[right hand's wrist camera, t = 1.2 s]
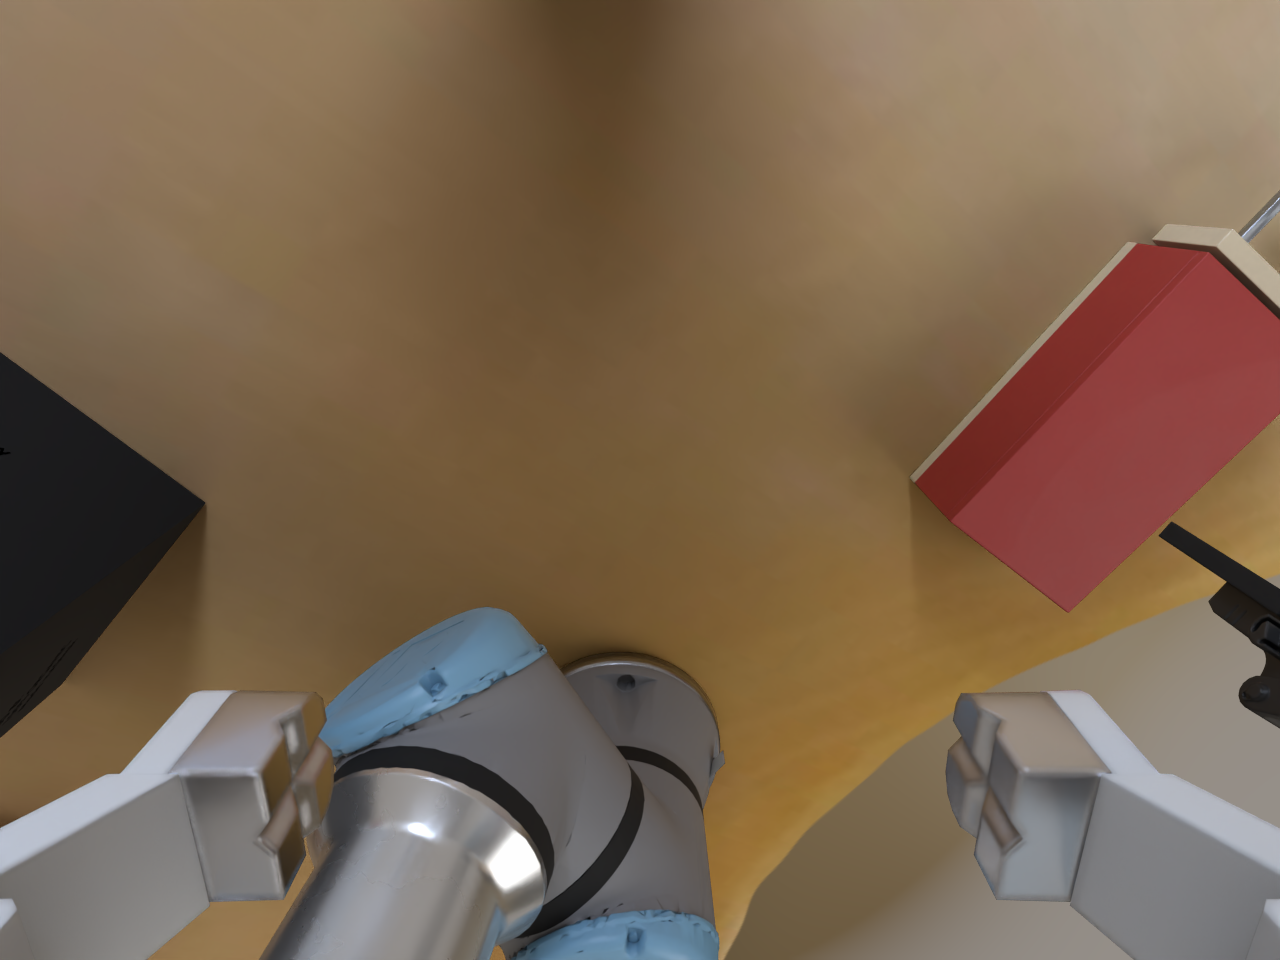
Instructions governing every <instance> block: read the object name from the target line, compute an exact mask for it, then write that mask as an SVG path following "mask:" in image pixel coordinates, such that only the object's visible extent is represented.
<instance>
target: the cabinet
mask: <svg viewBox="0 0 1280 960" xmlns="http://www.w3.org/2000/svg"><path fill="white" fill-rule="evenodd" d="M1279 414H1280V320H1279V319H1278V318H1277V317H1276V316H1275V315H1274V314H1273V313H1272V312H1271V311H1270V310H1269V309H1268V308H1267V307H1266V306H1265V305H1264V304H1263V303H1262V302H1260V301H1259V300H1258V299H1257V298H1256V297H1255V296H1254V295H1253V294H1252V293H1251V292H1250V291H1249V290H1248V289H1247V288H1246V287H1245V286H1244V285H1243V284H1242V283H1241V282H1240V281H1239V280H1238V279H1237V278H1235V277H1234V276H1233V275H1232V274H1231V273H1230V272H1229V271H1228V270H1227V269H1226V268H1225V267H1224V266H1223V265H1222V264H1221V263H1220V262H1219V261H1218V260H1217V259H1216V258H1215V257H1214V256H1213V255H1212V254H1210V253H1209V252H1202V251H1195V250H1186V249H1178V248H1170V247H1162V246H1153V245H1145V244H1138V243H1134V242H1127V243H1126V244H1125V245H1124V246H1123V247H1122V248H1121V249H1120V250H1119V252H1118V253H1117V254H1116V255H1115V256H1114V257H1113V258H1112V259H1111V260H1110V261H1109V262H1108V263H1107V264H1106V266H1105V267H1104V268H1103V269H1102V270H1101V271H1100V272H1099V273H1098V274H1097V275H1096V276H1095V277H1094V279H1093V280H1092V281H1091V282H1090V283H1089V284H1088V285H1087V286H1086V287H1085V288H1084V289H1083V290H1082V291H1081V293H1080V294H1079V295H1078V296H1077V297H1076V298H1075V299H1074V300H1073V301H1072V302H1071V303H1070V304H1069V306H1068V307H1067V308H1066V309H1065V310H1064V311H1063V312H1062V313H1061V314H1060V315H1059V316H1058V317H1057V318H1056V320H1055V321H1054V322H1053V323H1052V324H1051V325H1050V326H1049V327H1048V328H1047V329H1046V330H1045V331H1044V333H1043V334H1042V335H1041V336H1040V337H1039V338H1038V339H1037V340H1036V341H1035V342H1034V343H1033V344H1032V345H1031V347H1030V348H1029V349H1028V350H1027V351H1026V352H1025V353H1024V354H1023V355H1022V356H1021V357H1020V358H1019V359H1018V361H1017V362H1016V363H1015V364H1014V365H1013V366H1012V367H1011V368H1010V369H1009V370H1008V371H1007V372H1006V374H1005V375H1004V376H1003V377H1002V378H1001V379H1000V380H999V381H998V382H997V383H996V384H995V385H994V386H993V388H992V389H991V390H990V391H989V392H988V393H987V394H986V395H985V396H984V397H983V398H982V399H981V401H980V402H979V403H978V404H977V405H976V406H975V407H974V408H973V409H972V410H971V411H970V412H969V413H968V415H967V416H966V417H965V418H964V419H963V420H962V421H961V422H960V423H959V424H958V425H957V426H956V428H955V429H954V430H953V431H952V432H951V433H950V434H949V435H948V436H947V437H946V438H945V439H944V440H943V442H942V443H941V444H940V445H939V446H938V447H937V448H936V449H935V450H934V451H933V452H932V453H931V454H930V456H929V457H928V458H927V459H926V460H925V461H924V462H923V463H922V464H921V465H920V466H919V467H918V469H917V470H916V471H915V472H914V473H913V474H912V475H911V476H910V477H909V478H910V479H911V480H912V481H913V482H914V483H915V484H916V485H917V486H918V487H919V488H920V489H921V490H922V492H923V493H924V494H925V495H926V496H927V497H928V498H929V499H930V500H931V501H932V502H933V503H934V505H935V506H936V507H937V508H938V509H939V510H940V511H941V512H942V513H943V514H944V515H945V517H946V518H947V519H948V520H949V521H950V522H951V523H953V524H954V525H955V526H956V527H958V528H959V529H960V530H962V531H963V532H964V533H965V534H967V535H968V536H969V537H971V538H972V539H973V540H975V541H976V542H977V543H978V544H980V545H981V546H982V547H984V548H985V549H986V550H987V551H989V552H990V553H991V554H993V555H994V556H995V557H996V558H998V559H999V560H1000V561H1002V562H1003V563H1004V564H1005V565H1007V566H1008V567H1009V568H1011V569H1012V570H1013V571H1014V572H1016V573H1017V574H1018V575H1020V576H1021V577H1022V578H1023V579H1025V580H1026V581H1027V582H1029V583H1030V584H1031V585H1032V586H1034V587H1035V588H1036V589H1038V590H1039V591H1040V592H1042V593H1043V594H1044V595H1045V596H1047V597H1048V598H1049V599H1051V600H1052V601H1053V602H1054V603H1056V604H1057V605H1058V606H1060V607H1061V608H1062V609H1063V610H1065V611H1066V612H1070V611H1071V610H1072V609H1073V608H1074V607H1075V606H1076V605H1077V604H1078V603H1079V602H1080V601H1081V600H1083V599H1084V598H1085V597H1086V596H1087V595H1088V594H1089V593H1090V592H1091V591H1092V590H1093V589H1094V588H1095V587H1096V586H1097V585H1098V584H1099V583H1101V582H1102V581H1103V580H1104V579H1105V578H1106V577H1107V576H1108V575H1109V574H1110V573H1111V572H1112V571H1113V570H1114V569H1115V568H1116V567H1118V566H1119V565H1120V564H1121V563H1122V562H1123V561H1124V560H1125V559H1126V558H1127V557H1128V556H1129V555H1130V554H1131V553H1132V552H1133V551H1135V550H1136V549H1137V548H1138V547H1139V546H1140V545H1141V544H1142V543H1143V542H1144V541H1145V540H1146V539H1147V538H1148V537H1149V536H1150V535H1151V534H1153V533H1154V532H1155V531H1156V530H1157V529H1158V528H1159V527H1160V526H1161V525H1162V524H1163V523H1164V522H1165V521H1166V520H1167V519H1168V518H1170V517H1171V516H1172V515H1173V514H1174V513H1175V512H1176V511H1177V510H1178V509H1179V508H1180V507H1181V506H1182V505H1183V504H1184V503H1185V502H1187V501H1188V500H1189V499H1190V498H1191V497H1192V496H1193V495H1194V494H1195V493H1196V492H1197V491H1198V490H1199V489H1200V488H1201V487H1202V486H1204V485H1205V484H1206V483H1207V482H1208V481H1209V480H1210V479H1211V478H1212V477H1213V476H1214V475H1215V474H1216V473H1217V472H1218V471H1219V470H1220V469H1222V468H1223V467H1224V466H1225V465H1226V464H1227V463H1228V462H1229V461H1230V460H1231V459H1232V458H1233V457H1234V456H1235V455H1236V454H1237V453H1239V452H1240V451H1241V450H1242V449H1243V448H1244V447H1245V446H1246V445H1247V444H1248V443H1249V442H1250V441H1251V440H1252V439H1253V438H1254V437H1256V436H1257V435H1258V434H1259V433H1260V432H1261V431H1262V430H1263V429H1264V428H1265V427H1266V426H1267V425H1268V424H1269V423H1270V422H1271V421H1272V420H1274V419H1275V418H1276V417H1277V416H1278V415H1279Z"/></svg>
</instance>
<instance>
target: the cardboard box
mask: <svg viewBox="0 0 1280 960" xmlns="http://www.w3.org/2000/svg"><path fill="white" fill-rule="evenodd" d="M204 504H205V502H203V501H202V500H201V499H199V498H198V497H197V496H195V495H194V494H193V493H191V492H190V491H188V490H187V489H186V488H184V487H183V486H182V485H180V484H179V483H178V482H176V481H175V480H173V479H172V478H171V477H169V476H168V475H167V474H165V473H164V472H163V471H161V470H160V469H158V468H157V467H156V466H154V465H153V464H152V463H150V462H149V461H148V460H146V459H145V458H143V457H142V456H141V455H139V454H138V453H137V452H135V451H134V450H133V449H131V448H130V447H128V446H127V445H126V444H124V443H123V442H122V441H120V440H119V439H118V438H116V437H115V436H113V435H112V434H111V433H109V432H108V431H107V430H105V429H104V428H103V427H101V426H100V425H98V424H97V423H96V422H94V421H93V420H92V419H90V418H89V417H88V416H86V415H85V414H83V413H82V412H81V411H79V410H78V409H77V408H75V407H74V406H73V405H71V404H70V403H68V402H67V401H66V400H64V399H63V398H62V397H60V396H59V395H58V394H56V393H55V392H53V391H52V390H51V389H49V388H48V387H47V386H45V385H44V384H43V383H41V382H40V381H38V380H37V379H36V378H34V377H33V376H32V375H30V374H29V373H28V372H26V371H25V370H23V369H22V368H21V367H19V366H18V365H17V364H15V363H14V362H13V361H11V360H10V359H8V358H7V357H6V356H4V355H3V354H2V353H0V737H2V736H3V735H4V734H5V733H6V732H7V731H8V730H10V729H11V728H12V727H13V726H14V725H15V724H17V723H18V722H19V721H20V720H21V719H22V718H23V717H25V716H26V715H27V714H28V713H29V712H30V711H32V710H33V709H34V708H35V707H36V706H37V705H38V704H40V703H41V702H42V701H43V700H44V699H45V698H47V697H48V696H49V695H50V694H51V693H52V692H53V691H55V690H56V689H57V688H58V687H59V686H60V685H61V684H62V683H63V682H64V681H65V679H66V678H67V677H68V676H69V674H70V673H71V672H72V671H73V669H74V668H75V667H76V665H77V664H78V663H79V662H80V660H81V659H82V658H83V657H84V655H85V654H86V653H87V652H88V650H89V649H90V648H91V647H92V645H93V644H94V643H95V642H96V640H97V639H98V638H99V637H100V635H101V634H102V633H103V632H104V630H105V629H106V628H107V626H108V625H109V624H110V623H111V621H112V620H113V619H114V618H115V616H116V615H117V614H118V613H119V611H120V610H121V609H122V608H123V606H124V605H125V604H126V603H127V601H128V600H129V599H130V598H131V596H132V595H133V594H134V592H135V591H136V590H137V589H138V587H139V586H140V585H141V584H142V582H143V581H144V580H145V579H146V577H147V576H148V575H149V574H150V572H151V571H152V570H153V569H154V567H155V566H156V565H157V564H158V562H159V561H160V560H161V558H162V557H163V556H164V555H165V553H166V552H167V551H168V550H169V548H170V547H171V546H172V545H173V543H174V542H175V541H176V540H177V538H178V537H179V536H180V535H181V533H182V532H183V531H184V530H185V528H186V527H187V526H188V525H189V523H190V522H191V521H192V519H193V518H194V517H195V516H196V514H197V513H198V512H199V511H200V509H201V508H202V507H203V506H204Z"/></svg>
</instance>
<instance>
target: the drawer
mask: <svg viewBox="0 0 1280 960" xmlns="http://www.w3.org/2000/svg"><path fill="white" fill-rule="evenodd" d="M1279 211H1280V190H1279V191H1278V192H1277V193H1276V195H1275V196H1274V197H1273V198H1272V199H1271V200H1270V201H1269V202H1268V203H1267V204H1266V205H1265V206H1264V207H1263V208H1262V209H1261V210H1260V211H1259V212H1258V213H1257V214H1256V215H1255V216H1254V217H1253V218H1252V219H1251V220H1250V221H1249V222H1248V223H1247V224H1246V226H1245V227H1244V228H1243V229H1242V230H1241V231H1240V232H1239V233H1237V232H1236V231H1235V230H1234V229H1228V228H1215V227H1202V226H1189V225H1176V224H1166V225H1165V226H1164V227H1163V228H1162V229H1161V230H1160V231H1159V232H1158V233H1157V234H1156V235H1155V237H1154V238H1153V239H1152V240H1153V241H1154V242H1155V243H1156V244H1157V245H1158V246H1162V247H1170V248H1178V249H1186V250H1195V251H1202V252H1209V253H1210V254H1212V255H1213V256H1214V257H1215V258H1216V259H1217V260H1218V261H1219V262H1220V263H1221V264H1222V265H1223V266H1224V267H1225V268H1226V269H1227V270H1228V271H1229V272H1230V273H1231V274H1232V275H1233V276H1234V277H1235V278H1237V279H1238V280H1239V281H1240V282H1241V283H1242V284H1243V285H1244V286H1245V287H1246V288H1247V289H1248V290H1249V291H1250V292H1251V293H1252V294H1253V295H1254V296H1255V297H1256V298H1257V299H1258V300H1259V301H1260V302H1262V303H1263V304H1264V305H1265V306H1266V307H1267V308H1268V309H1269V310H1270V311H1271V312H1272V313H1273V314H1274V315H1275V316H1276V317H1277V318H1278V319H1279V320H1280V274H1279V273H1278V272H1277V271H1276V270H1275V269H1274V268H1273V267H1272V266H1271V265H1270V264H1269V263H1268V262H1267V261H1266V260H1265V259H1264V258H1262V257H1261V256H1260V255H1259V254H1258V253H1257V252H1256V251H1255V250H1254V249H1253V248H1252V247H1251V246H1250V245H1249V244H1248V243H1249V242H1250V241H1251V240H1252V239H1253V238H1254V237H1255V236H1256V235H1257V234H1258V233H1259V232H1260V231H1261V230H1262V229H1263V228H1264V227H1265V225H1266V224H1267V223H1268V222H1269V221H1270V220H1271V219H1272V218H1273V217H1274V216H1275V215H1276V214H1277V213H1278V212H1279Z"/></svg>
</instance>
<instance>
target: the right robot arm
mask: <svg viewBox="0 0 1280 960" xmlns="http://www.w3.org/2000/svg"><path fill="white" fill-rule="evenodd" d="M953 721H954V723H955V725H956V727H957V729H958V730H959V732H960V734H961V737H960V738H959V739H958V741H956V742H955V743H954V744H953V745H952V746H951V747H950V749H949V750H948V757H947V764H946V782H947V793H948V797H949V801H950V804H951V807H952V811H953V813H954V815H955V817H956V819H957V821H958V824H959V826H960V827H961V828H963V829H964V830H965V831H967V832H968V833H970V834H971V835H972V836H974V837H975V838H977V840H976V846H975V852H974V856H975V858H976V860H977V862H978V864H979V866H980V868H981V870H982V872H983V874H984V876H985V878H986V880H987V882H988V884H989V886H990V888H991V890H992V892H993V894H994V896H995V898H996V899H997V900H1023V901H1058V902H1071V903H1070V906H1071V907H1072V908H1074V909H1075V910H1076V911H1077V912H1078V913H1080V914H1081V915H1082V916H1083V917H1084V918H1086V919H1087V920H1088V921H1089V922H1090V923H1091V924H1093V925H1094V926H1095V927H1096V928H1097V929H1098V930H1100V931H1101V932H1102V933H1103V934H1104V935H1106V936H1107V937H1108V938H1109V939H1110V940H1111V941H1113V942H1114V943H1115V944H1116V945H1117V946H1118V947H1120V948H1121V949H1122V950H1123V951H1124V952H1126V953H1127V954H1128V955H1129V956H1130V957H1131V958H1133V959H1134V960H1280V828H1278V827H1276V826H1274V825H1272V824H1270V823H1269V822H1267V821H1265V820H1263V819H1261V818H1259V817H1257V816H1255V815H1253V814H1251V813H1249V812H1247V811H1245V810H1243V809H1241V808H1239V807H1237V806H1235V805H1233V804H1231V803H1229V802H1227V801H1225V800H1223V799H1221V798H1219V797H1217V796H1215V795H1213V794H1211V793H1209V792H1207V791H1205V790H1203V789H1202V788H1200V787H1198V786H1196V785H1194V784H1192V783H1190V782H1188V781H1186V780H1184V779H1182V778H1180V777H1178V776H1176V775H1174V774H1160V773H1159V772H1158V771H1157V770H1156V769H1155V768H1154V766H1153V765H1152V764H1151V763H1150V762H1149V761H1148V760H1147V759H1146V757H1145V756H1144V755H1143V754H1142V753H1141V752H1140V751H1139V750H1138V748H1137V747H1136V746H1135V745H1134V744H1133V743H1132V742H1131V741H1130V739H1129V738H1128V737H1127V736H1126V735H1125V734H1124V733H1123V731H1122V730H1121V729H1120V728H1119V727H1118V726H1117V725H1116V724H1115V722H1114V721H1113V720H1112V719H1111V718H1110V717H1109V716H1108V714H1107V713H1106V712H1105V711H1104V710H1103V709H1102V708H1101V707H1100V705H1099V704H1098V703H1097V702H1096V701H1095V700H1094V699H1093V697H1092V696H1091V695H1090V694H1088V693H1086V692H1084V691H1081V690H1059V691H1040V692H1006V693H961V694H960V696H959V698H958V700H957V702H956V706H955V711H954V717H953ZM326 722H327V718H326V713H325V708H324V703H323V698H322V697H321V696H319V695H318V694H317V693H316V692H287V691H235V690H201V691H198V692H195V693H192V694H190V695H189V696H188V697H187V699H186V700H185V701H184V702H183V703H182V704H181V705H180V706H179V708H178V709H177V710H176V711H175V712H174V713H173V714H172V716H171V717H170V718H169V719H168V720H167V721H166V722H165V723H164V725H163V726H162V727H161V728H160V729H159V730H158V731H157V733H156V734H155V735H154V736H153V737H152V738H151V739H150V740H149V742H148V743H147V744H146V745H145V746H144V747H143V748H142V749H141V751H140V752H139V753H138V754H137V755H136V756H135V757H134V759H133V760H132V761H131V762H130V763H129V764H128V765H127V766H126V768H125V769H124V770H123V771H122V772H121V773H120V774H106V775H104V776H102V777H100V778H98V779H96V780H94V781H92V782H90V783H88V784H86V785H84V786H82V787H80V788H78V789H76V790H74V791H72V792H70V793H68V794H67V795H65V796H63V797H61V798H59V799H57V800H55V801H53V802H51V803H49V804H47V805H45V806H43V807H41V808H39V809H37V810H35V811H33V812H31V813H29V814H27V815H25V816H23V817H21V818H19V819H17V820H15V821H13V822H11V823H9V824H7V825H5V826H3V827H1V828H0V960H147V959H148V958H149V957H150V956H151V955H152V954H154V953H155V952H156V951H157V950H158V949H160V948H161V947H162V946H163V945H164V944H165V943H167V942H168V941H169V940H170V939H171V938H173V937H174V936H175V935H176V934H177V933H178V932H180V931H181V930H182V929H183V928H184V927H186V926H187V925H188V924H189V923H190V922H191V921H193V920H194V919H195V918H196V917H197V916H199V915H200V914H201V913H202V912H203V911H204V910H206V909H207V908H208V907H209V906H210V903H209V902H222V901H256V900H284V898H285V896H286V894H287V892H288V890H289V888H290V886H291V884H292V882H293V880H294V878H295V876H296V874H297V872H298V870H299V868H300V866H301V864H302V862H303V860H304V858H305V856H306V851H305V846H304V840H303V838H305V837H306V836H308V835H309V834H310V833H312V832H313V831H315V830H316V829H317V828H319V827H320V826H321V824H322V821H323V819H324V817H325V815H326V813H327V811H328V809H329V804H330V800H331V795H332V791H333V786H334V762H333V755H332V750H331V749H330V747H329V746H328V745H327V744H326V743H325V742H324V741H323V740H322V739H321V738H320V737H319V734H320V732H321V730H322V729H323V727H324V725H325V723H326Z"/></svg>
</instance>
